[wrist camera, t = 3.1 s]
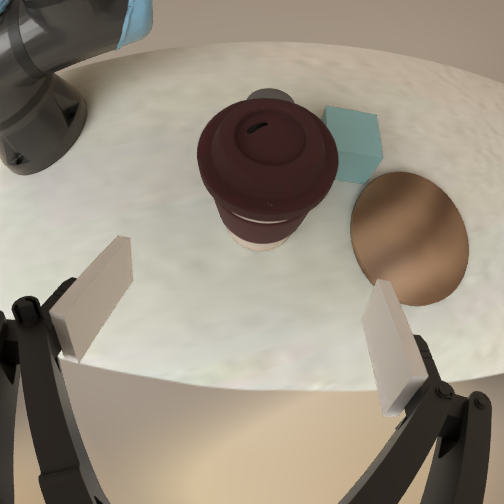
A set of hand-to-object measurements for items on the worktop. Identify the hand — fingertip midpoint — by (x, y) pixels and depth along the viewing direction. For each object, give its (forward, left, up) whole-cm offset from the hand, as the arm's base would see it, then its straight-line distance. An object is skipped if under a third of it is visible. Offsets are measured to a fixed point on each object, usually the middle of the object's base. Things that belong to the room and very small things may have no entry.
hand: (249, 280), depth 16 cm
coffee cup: (-6, +8, -16) cm, 19 cm away
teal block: (-5, +20, -16) cm, 26 cm away
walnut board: (+7, +19, -16) cm, 26 cm away
